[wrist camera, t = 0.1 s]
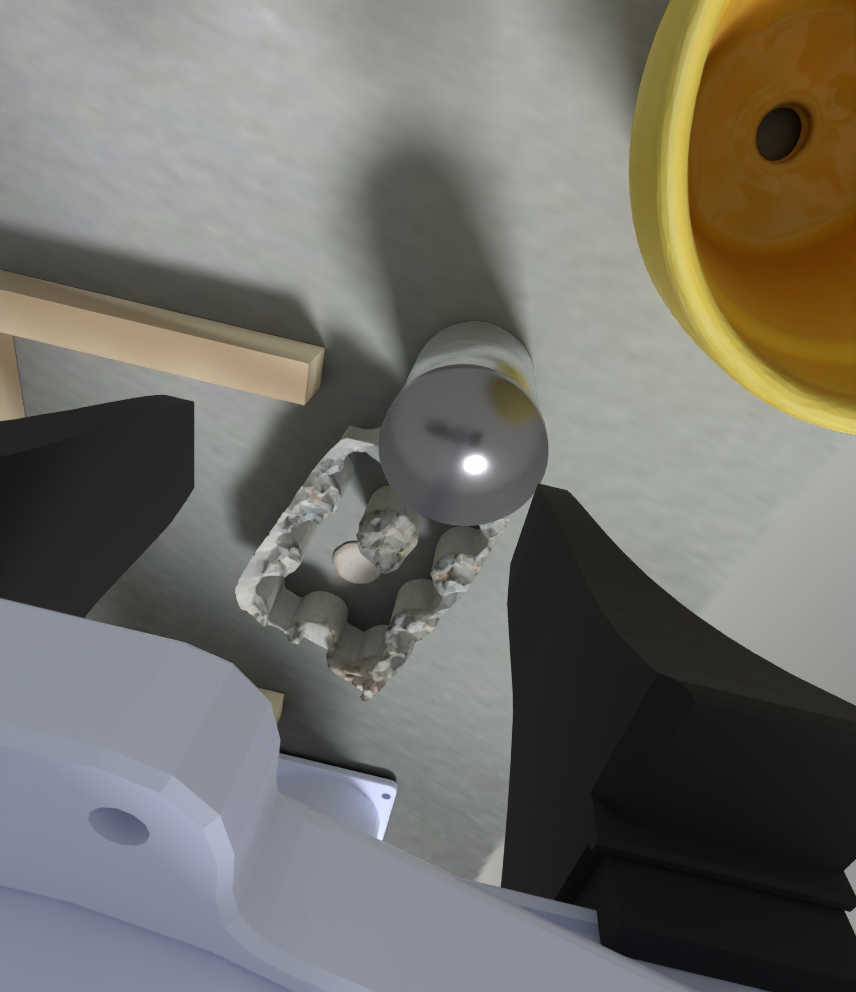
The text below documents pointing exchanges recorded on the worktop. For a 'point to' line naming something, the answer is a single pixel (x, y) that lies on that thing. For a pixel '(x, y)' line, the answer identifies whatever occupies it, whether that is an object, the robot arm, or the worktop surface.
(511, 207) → the worktop surface
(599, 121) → the worktop surface
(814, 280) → the plant pot
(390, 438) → the jar with metallic lid
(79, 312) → the beech bay
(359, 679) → the egg carton
